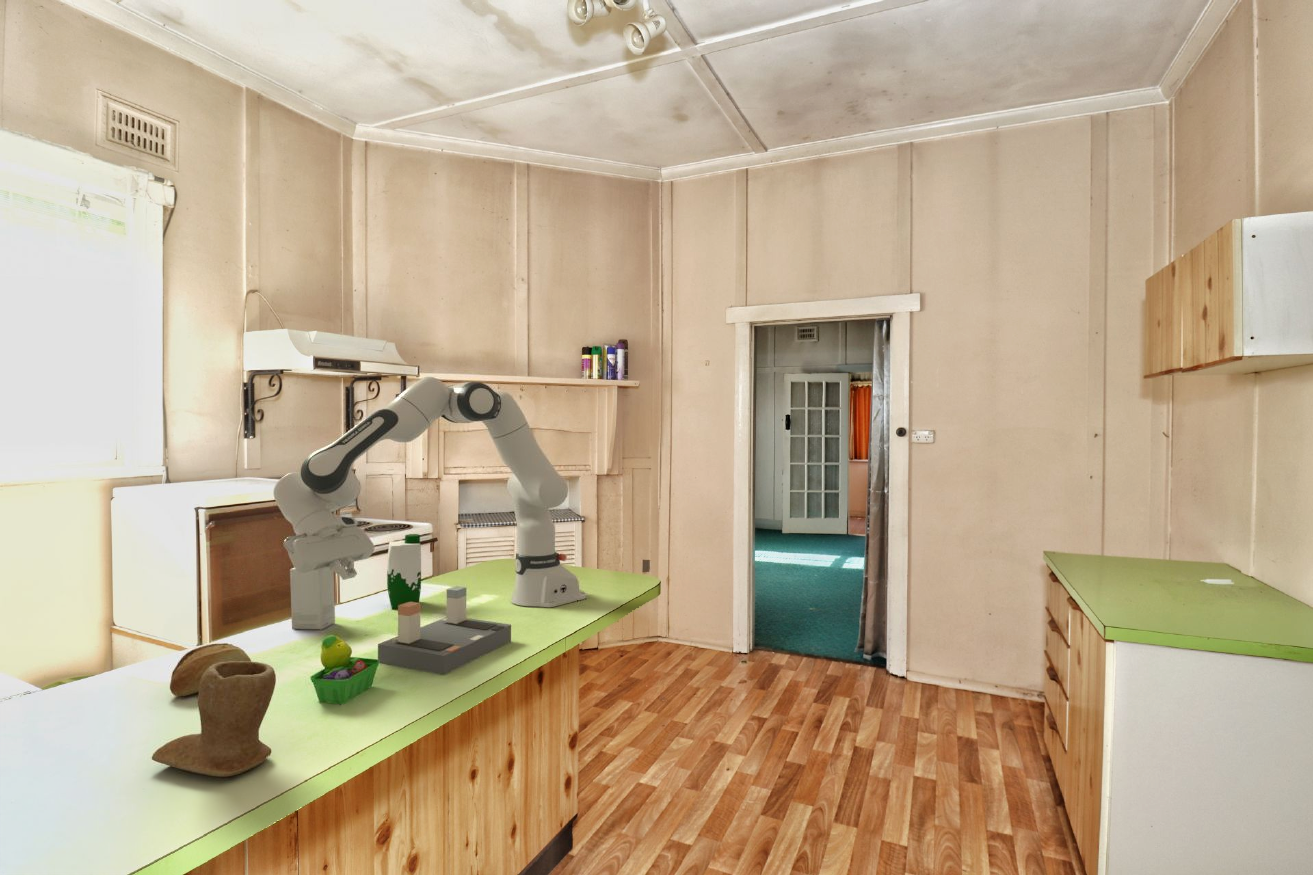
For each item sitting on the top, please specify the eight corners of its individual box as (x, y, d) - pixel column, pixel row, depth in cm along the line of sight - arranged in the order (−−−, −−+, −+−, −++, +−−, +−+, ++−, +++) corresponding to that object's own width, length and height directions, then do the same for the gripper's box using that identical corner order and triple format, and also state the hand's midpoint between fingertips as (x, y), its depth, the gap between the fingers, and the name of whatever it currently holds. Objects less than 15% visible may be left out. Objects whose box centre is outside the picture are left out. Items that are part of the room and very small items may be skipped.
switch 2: (456, 618, 166) (456, 586, 166) (466, 619, 165) (466, 587, 164) (446, 622, 162) (446, 589, 162) (456, 623, 161) (456, 590, 161)
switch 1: (409, 636, 151) (409, 601, 151) (420, 638, 150) (420, 603, 150) (397, 641, 148) (398, 605, 147) (408, 643, 146) (408, 607, 146)
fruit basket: (344, 708, 123) (344, 647, 123) (302, 703, 125) (302, 643, 125) (381, 684, 135) (382, 628, 134) (342, 680, 136) (342, 625, 136)
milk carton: (422, 607, 191) (422, 537, 190) (388, 610, 187) (388, 538, 186) (419, 599, 199) (419, 532, 198) (386, 602, 195) (386, 534, 194)
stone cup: (293, 752, 107) (293, 658, 106) (222, 791, 95) (222, 686, 95) (223, 736, 112) (223, 647, 111) (148, 771, 100) (148, 671, 100)
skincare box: (335, 623, 175) (336, 563, 174) (320, 630, 168) (320, 568, 168) (305, 621, 176) (305, 562, 175) (289, 629, 169) (289, 567, 169)
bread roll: (155, 696, 128) (155, 654, 128) (232, 670, 141) (232, 632, 141) (187, 705, 124) (187, 662, 124) (263, 677, 138) (263, 639, 137)
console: (450, 631, 169) (450, 612, 169) (511, 640, 162) (511, 621, 162) (377, 662, 147) (377, 640, 147) (444, 674, 140) (444, 651, 140)
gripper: (287, 529, 148) (319, 577, 145) (360, 517, 167) (390, 560, 163) (272, 547, 150) (304, 596, 146) (347, 534, 169) (376, 576, 165)
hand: (350, 577), depth 155 cm, fingers closed
